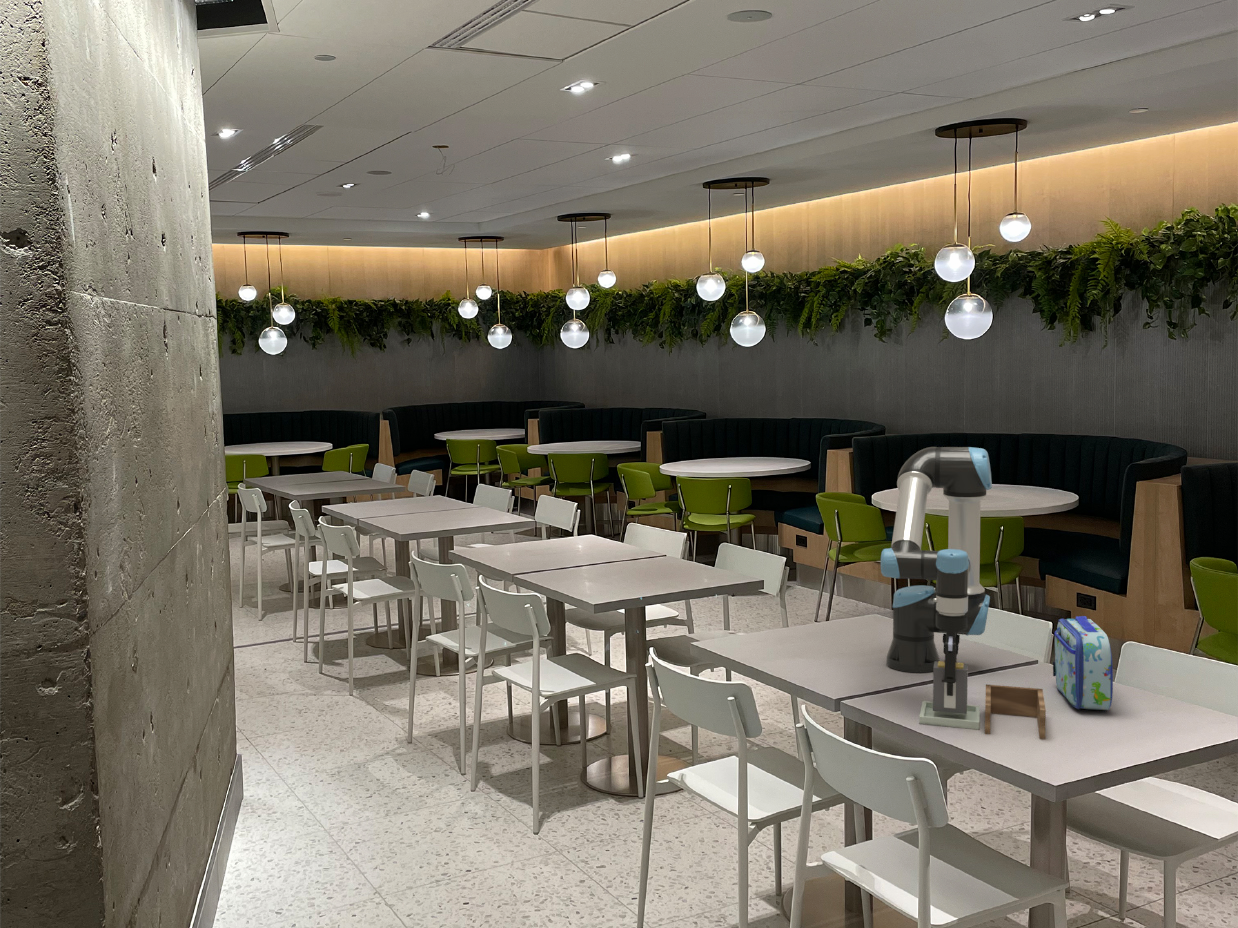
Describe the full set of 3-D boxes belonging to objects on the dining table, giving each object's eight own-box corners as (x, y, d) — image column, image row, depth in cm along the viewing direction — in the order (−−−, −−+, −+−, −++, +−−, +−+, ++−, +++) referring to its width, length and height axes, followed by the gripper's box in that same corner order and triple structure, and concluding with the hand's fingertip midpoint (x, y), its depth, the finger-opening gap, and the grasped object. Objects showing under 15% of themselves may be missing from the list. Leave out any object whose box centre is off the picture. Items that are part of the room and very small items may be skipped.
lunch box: (1049, 684, 292) (1051, 609, 290) (1091, 686, 290) (1093, 610, 288) (1070, 714, 267) (1072, 633, 265) (1115, 717, 265) (1118, 634, 263)
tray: (922, 707, 274) (922, 700, 274) (979, 712, 270) (980, 705, 269) (919, 723, 262) (919, 716, 262) (979, 729, 257) (979, 722, 257)
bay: (985, 711, 271) (985, 684, 270) (1041, 716, 266) (1042, 688, 266) (984, 733, 255) (985, 704, 254) (1045, 739, 250) (1045, 710, 249)
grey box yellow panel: (934, 703, 270) (934, 659, 269) (967, 706, 267) (967, 662, 266) (932, 710, 264) (933, 666, 263) (966, 713, 261) (967, 668, 260)
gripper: (937, 603, 273) (936, 690, 276) (933, 620, 256) (932, 713, 258) (968, 604, 271) (966, 693, 273) (966, 622, 253) (965, 716, 255)
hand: (950, 703), depth 265 cm, fingers closed on grey box yellow panel, 6 cm apart
